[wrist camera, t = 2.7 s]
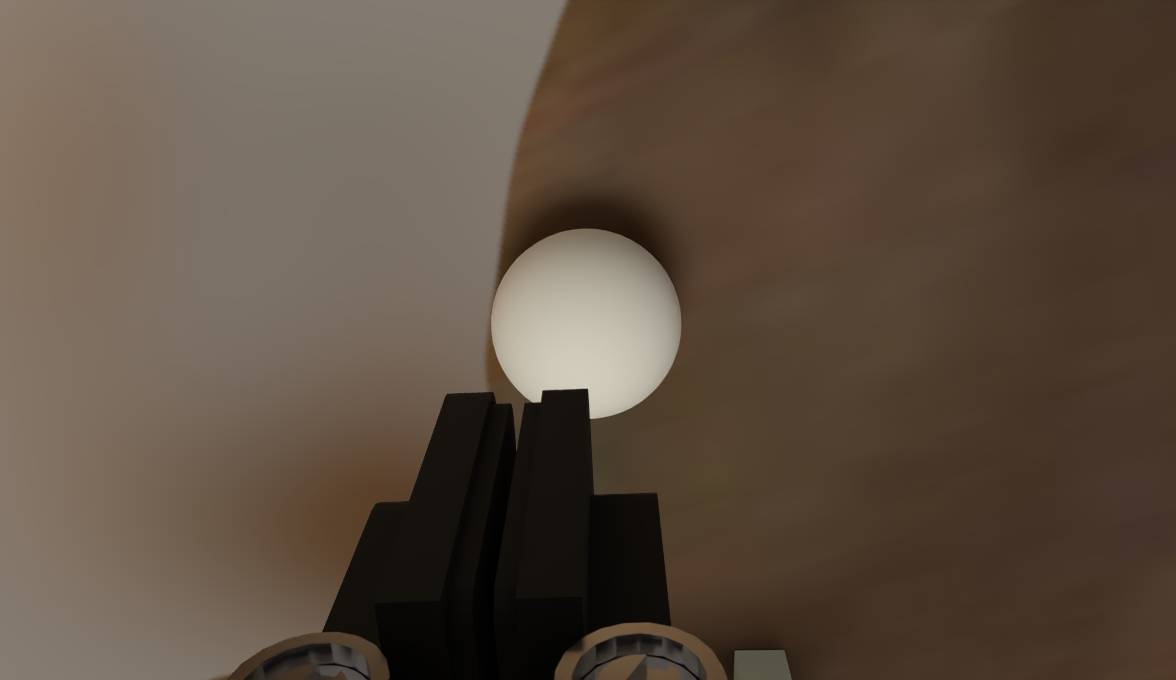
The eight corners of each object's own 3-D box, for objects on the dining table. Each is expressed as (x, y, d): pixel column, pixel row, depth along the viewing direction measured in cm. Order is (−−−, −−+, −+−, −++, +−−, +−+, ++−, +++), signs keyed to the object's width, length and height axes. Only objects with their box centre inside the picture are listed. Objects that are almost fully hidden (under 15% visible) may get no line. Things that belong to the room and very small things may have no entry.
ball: (495, 209, 32) (472, 264, 27) (675, 205, 32) (689, 260, 26) (506, 372, 34) (487, 455, 29) (674, 369, 34) (687, 452, 29)
